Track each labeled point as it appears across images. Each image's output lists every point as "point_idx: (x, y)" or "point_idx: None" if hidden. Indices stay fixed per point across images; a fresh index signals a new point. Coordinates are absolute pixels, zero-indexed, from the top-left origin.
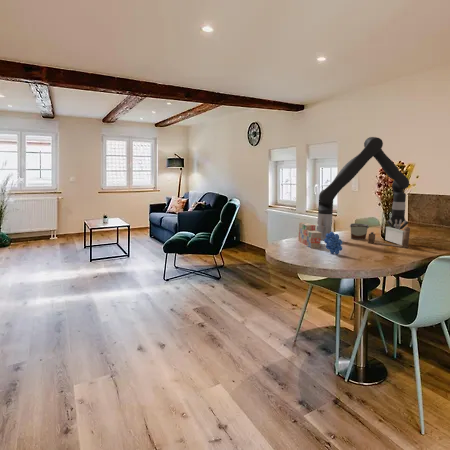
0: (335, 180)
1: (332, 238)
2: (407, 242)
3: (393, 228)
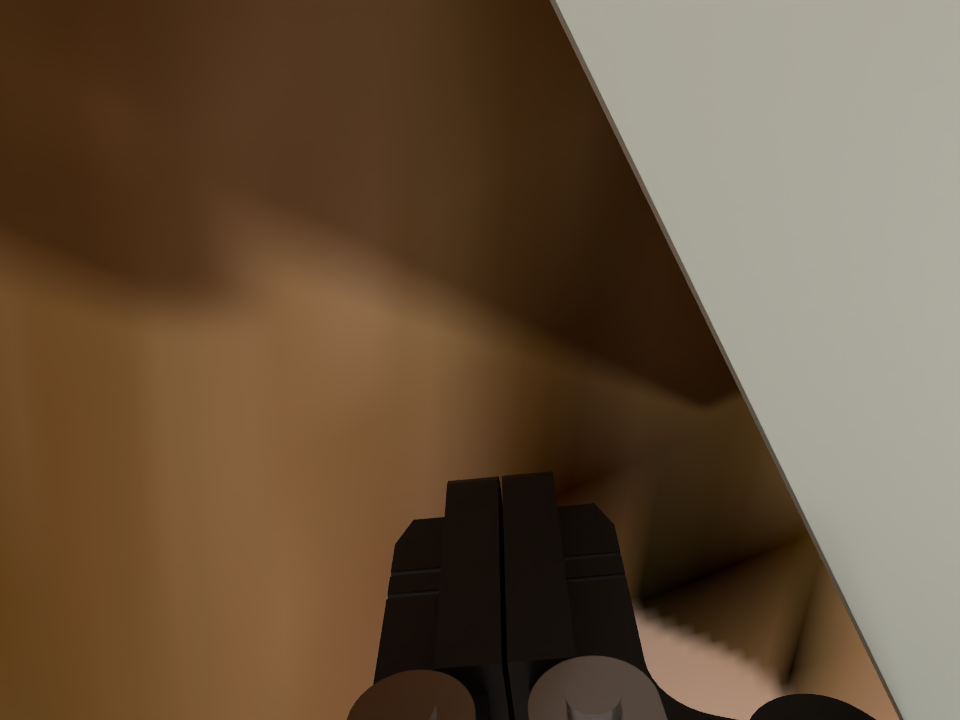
0: None
1: None
2: None
3: (916, 331)
